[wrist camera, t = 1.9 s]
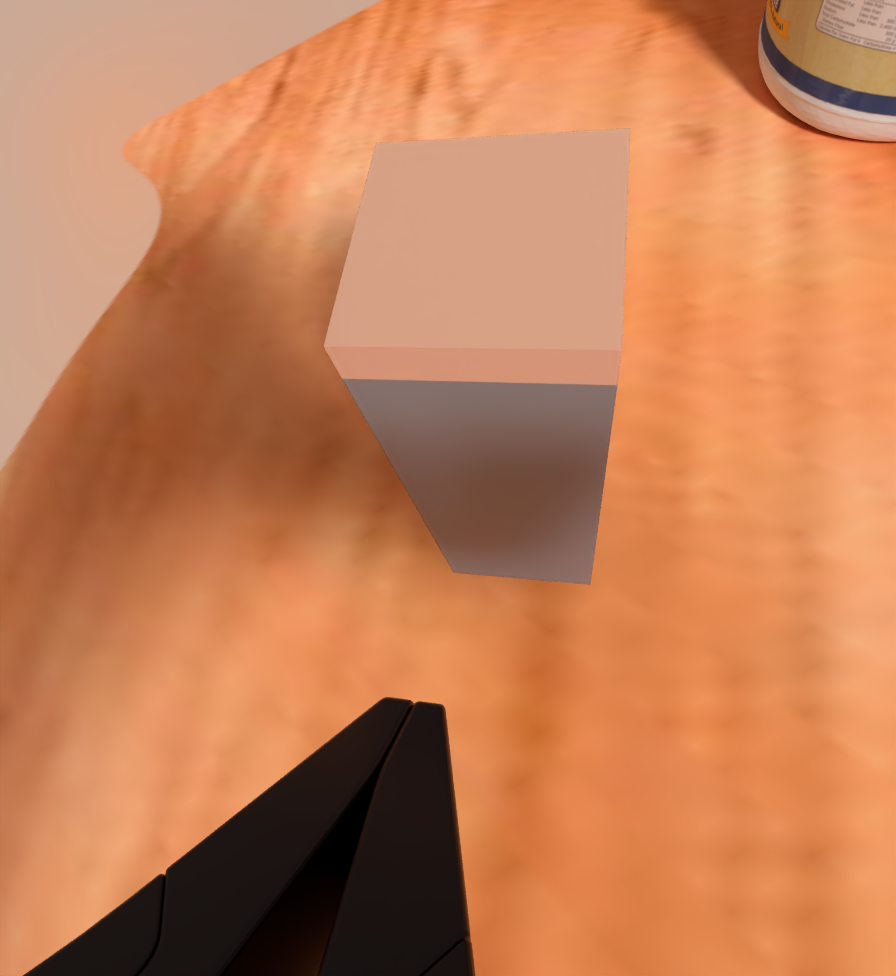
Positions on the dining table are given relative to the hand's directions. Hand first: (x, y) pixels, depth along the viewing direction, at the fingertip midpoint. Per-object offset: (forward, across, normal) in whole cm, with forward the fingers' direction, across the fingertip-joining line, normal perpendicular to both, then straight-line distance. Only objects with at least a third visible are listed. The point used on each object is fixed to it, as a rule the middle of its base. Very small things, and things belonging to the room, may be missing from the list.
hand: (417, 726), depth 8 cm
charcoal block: (+16, 0, +4) cm, 16 cm away
